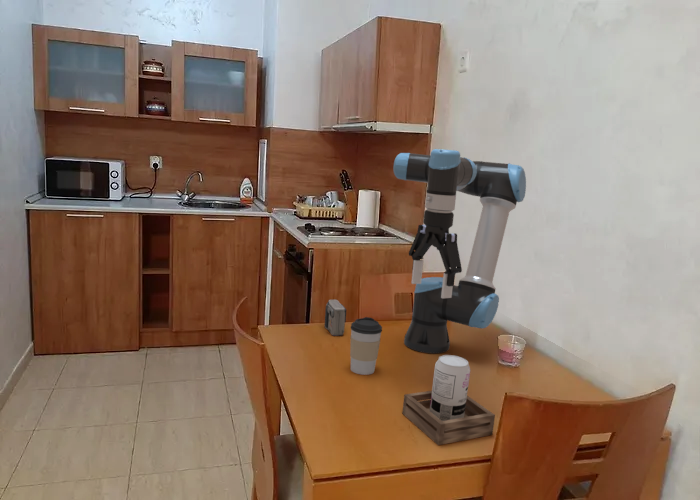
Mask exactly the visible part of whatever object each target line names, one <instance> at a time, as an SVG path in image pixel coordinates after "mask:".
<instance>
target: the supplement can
mask: <svg viewBox="0 0 700 500" xmlns="http://www.w3.org/2000/svg"><path fill="white" fill-rule="evenodd" d="M434 363H435V365H434V372H433V380H432V388H431V391H432V395H431V399H430V400H431V403H430V412H431V413H433V414H434V415H435V416H436V417H438V418H439V419H440V420H441V421H446V420H452V419H457V418H463V417H464V414H465V406H466V399H467V396H468V392H469V391H468V390H469V383H470V377H471V376H470V375H471V367H470V364H469V361H468V360H467V359H466V358H465V357H461V356H458V355H454V354H453V355H451V354H444V355H439V356H438V360H437V361H436V362H434Z"/></svg>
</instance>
